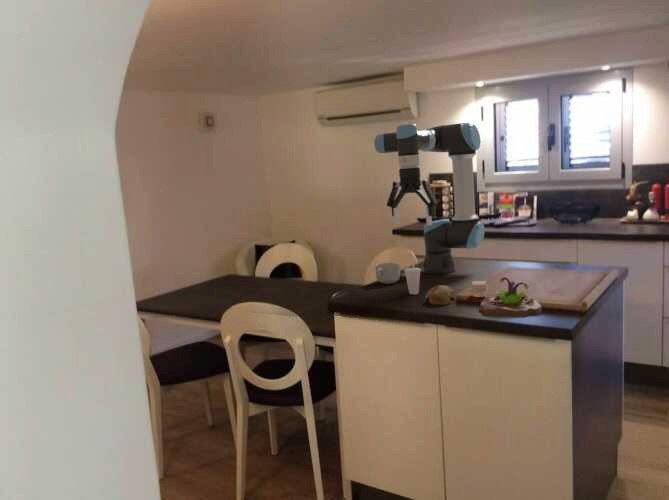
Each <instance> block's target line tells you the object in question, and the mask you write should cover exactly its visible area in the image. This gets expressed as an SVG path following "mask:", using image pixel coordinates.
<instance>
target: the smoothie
mask: <svg viewBox="0 0 669 500" xmlns="http://www.w3.org/2000/svg"><path fill="white" fill-rule="evenodd" d="M411 261H412V267H407V268H405V269H404V274H405V278H406V284H407V288H408V294H410V295H418V294H419V292H420V277H421V268H420V267H415V259H414V257H412V260H411Z"/></svg>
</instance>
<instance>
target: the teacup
mask: <svg viewBox="0 0 669 500" xmlns="http://www.w3.org/2000/svg"><path fill="white" fill-rule="evenodd" d="M374 267H375V278H376V280H377V281H378V282H380V283H381V284H385V285H388V284H389V285H390V284H391V283H392V284H395V283H397V281H399V280H400V279H401V278H400V277H401V264H400V263H396V262H379V263H376V264H375V265H374Z"/></svg>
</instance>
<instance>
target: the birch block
mask: <svg viewBox="0 0 669 500" xmlns="http://www.w3.org/2000/svg"><path fill="white" fill-rule="evenodd" d="M470 287H471V292H472V291H486V289H487V290H488V285H487V281H483V280H482V281H479V280H478V281H477V280H476V281H472V283H471V286H470Z"/></svg>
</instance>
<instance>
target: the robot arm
mask: <svg viewBox="0 0 669 500" xmlns="http://www.w3.org/2000/svg"><path fill="white" fill-rule="evenodd" d="M373 141H374V142H373V143H374V150H375V151H376V152H377V154H378V153H379V154H388V153H391V154H392V153H397V158H398V159H397V160H398V168H399V170H398V172H399V173H398V175H399V179H400V180H399V181H398V180H396V181H393V182H392V187H391V190H390V191H391V192H390V193H389V197H388V200H387V203H386V206H387V207H389V208H391V216H392V217H393V221H394V226H400V225H401V220H400V218H401V217H400V207H398V205H399V204H400V203H401V201H402V200H403V198H404V196H405V195H406V194H416V195H418V197H419V198H420V199H421V201H422V202H423V203H424V204H425V206H426V207H425V217H426V223H424V225H423V236H424V239H423V240H424V253H425V254H424V255H425V256H424V260H423V264H422V273H424V274H430V275H431V274H432V275H442V274H443V275H444V274H450V273H454V272H456V271H457V264H456V261H455V259H454V257H453V254H452V249H465V250H466V249H468V250H470V249H472V250H473V249H478V248H479V247H480V246H481V245H482V244H483V241H484V238H485V225H484V223H483V221H480V217H479V216H478V215H477V214H476V205H475V203H476V202H475V183H474V163H473V158H474V157H475V156H476V155H477V152H476V151H477V150H479V149H480V147H481V135H480V132H479V129H478V127H477V126H476V125H475V124H474V123H473V122H461V123H460V122H459V123H452V124H443V125H438V126H434V127H429V128H422V129H418V126H417V124H416V123H407V124H401V125H398V126H396V132H386V133H380V134H379V133H378V134H377V135H376V136H375V137H374V140H373ZM419 151H421V152H423V153H424V152H426V153H427V152H431V153H432V152H433V153H447V154H448V157H449V158H450V159H451V163H452V179H453V183H452V184H453V198H454V199H453V200H454V203H453V204H454V213H455V214H454V215H453V217H452V218H451V220H450V218H443V219H438V220H433V218H432V217H433V216H434V207H435V206H436V205H438V203H439V202H438V200H437V198H436V196H435V194H434V193H433V191H432V188H431V186H430V184H429V179H422V180H421V171H420V170H421V169H420V167H419V166H420V155H419V154H420V153H419ZM421 186H422V187H423V189H422V188H421ZM399 187H400V188H401V189H400V190H399ZM423 190H424V191H423ZM397 193H398V195H397Z"/></svg>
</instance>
